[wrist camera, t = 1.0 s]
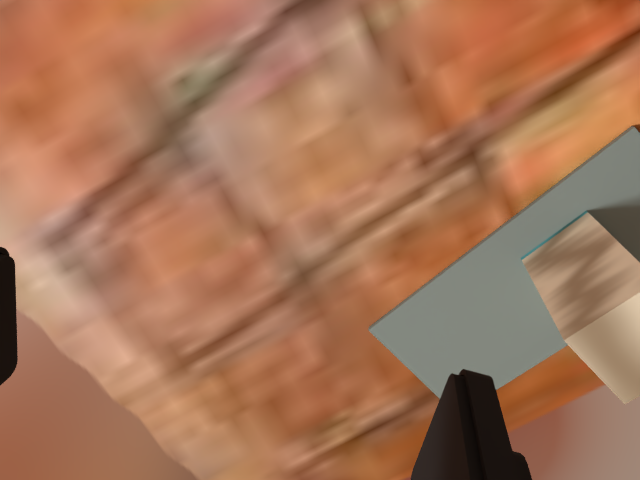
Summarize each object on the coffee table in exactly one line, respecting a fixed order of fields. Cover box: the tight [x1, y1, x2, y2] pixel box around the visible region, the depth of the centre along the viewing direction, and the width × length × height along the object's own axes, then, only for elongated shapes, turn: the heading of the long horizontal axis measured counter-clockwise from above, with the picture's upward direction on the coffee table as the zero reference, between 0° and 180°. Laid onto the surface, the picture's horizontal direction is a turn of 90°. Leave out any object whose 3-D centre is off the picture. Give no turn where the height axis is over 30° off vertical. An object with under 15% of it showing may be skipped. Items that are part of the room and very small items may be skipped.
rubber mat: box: [369, 126, 640, 398], centre depth 43 cm, size 26×12×1 cm, turn 135°
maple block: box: [521, 211, 640, 404], centre depth 36 cm, size 6×6×12 cm
